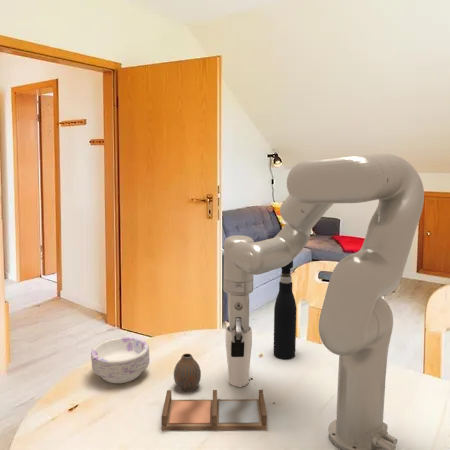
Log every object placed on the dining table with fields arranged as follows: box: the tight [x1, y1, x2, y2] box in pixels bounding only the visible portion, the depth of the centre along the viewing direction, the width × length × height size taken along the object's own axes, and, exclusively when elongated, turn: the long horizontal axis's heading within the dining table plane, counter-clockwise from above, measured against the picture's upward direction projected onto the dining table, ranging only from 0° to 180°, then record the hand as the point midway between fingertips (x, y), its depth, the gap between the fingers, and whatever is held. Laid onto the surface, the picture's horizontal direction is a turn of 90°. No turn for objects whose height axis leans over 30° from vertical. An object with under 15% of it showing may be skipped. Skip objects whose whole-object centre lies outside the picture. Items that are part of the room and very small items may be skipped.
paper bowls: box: [90, 336, 150, 384], centre depth 131 cm, size 15×15×8 cm
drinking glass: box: [225, 325, 253, 388], centre depth 126 cm, size 7×7×15 cm
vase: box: [173, 353, 202, 392], centre depth 125 cm, size 7×7×9 cm
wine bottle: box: [273, 259, 297, 360], centre depth 141 cm, size 6×6×30 cm
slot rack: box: [161, 389, 268, 432], centre depth 112 cm, size 23×11×4 cm, turn 90°
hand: (236, 347), depth 126 cm, fingers open, 9 cm apart
